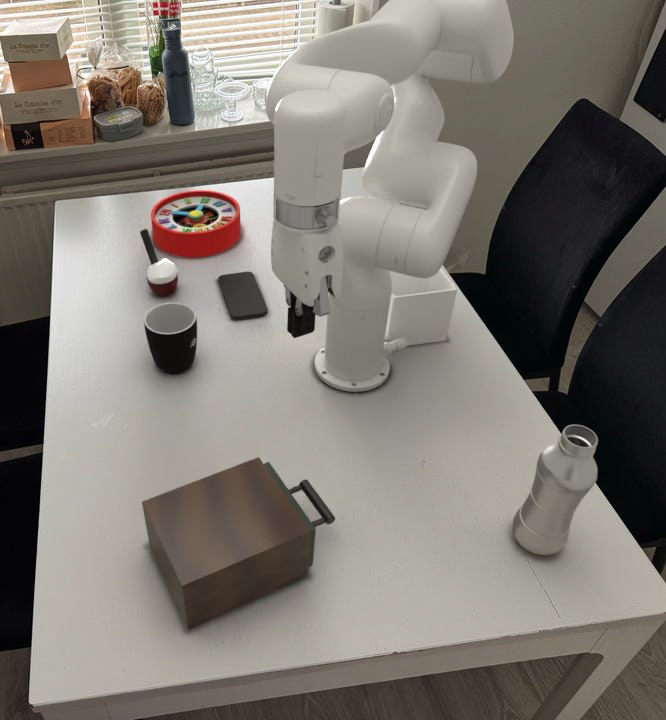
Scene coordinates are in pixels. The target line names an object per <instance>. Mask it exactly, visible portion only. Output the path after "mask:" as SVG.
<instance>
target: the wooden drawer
mask: <svg viewBox="0 0 666 720" xmlns="http://www.w3.org/2000/svg"><path fill="white" fill-rule="evenodd" d="M263 464H264V465H265V467H266V468H267V469H268V471H269V472H270V474H271V475H272V477H273V478H274V480H275V481H276V482H277V484H278V485H279V487H280V488H281V490H282V491H283V493H284V494H285V495H286V497H287V498H288V500H289V501H290V503H291V504H292V506H293V507H294V509H295V510H296V511H297V513H298V514H299V516H300V517H301V519H302V520H303V522H304V523H305V524H306V526H307V527H308V529H309V530H310V541H309V555H308V568H310V567H312V566H313V565H314V555H315V545H316V544H315V543H316V532H317V531H316V530H317V527H319V526H321V525H324V524H326V525H331V524H333V523H334V522H335V521H336V516H335V515H334V514H333V512H332V511H331V510H330V508H329V507H328V506H327V504H326V502H324V500H323V499H322V497H321V496H320V495H319V493H318V492H317V491H316V489H315V487H314V486H313V485H312V484H311V483H310V481H309V479H302V480H301V481H300V482H299V483H298V485H295V486H293V487H291V488H288V486H287V485H286V484H285V482H284V481H283V479H282V478H281V477H280V475H279V474H278V473H277V471H276V470H275V469H274V467H273V465H272V464H271V463H270V461H266V462H263ZM300 491H302V492H303V493H304V495H305V497H306V498H307V499H308V500H309V502H310V503H311V504H312V506H313V507H314V508H315V510H316V511H317V513H318V515H320V518H317V519H315V520H313V521H311V519H310V518H309V517H308V515H307V514H306V512H305V511H304V509H303V508H302V507H301V505H300V504H299V503H298V501H297V500H296V498H295V497H294V496H293V494H296V493H298V492H300Z"/></svg>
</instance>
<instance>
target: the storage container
mask: <svg viewBox="0 0 666 720" xmlns="http://www.w3.org/2000/svg"><path fill="white" fill-rule="evenodd" d="M389 273H390V277H391V282H392V292H391V298H390V305H389V312H388V319H387V326H386V332H385V334H389V335H390V341H388V342H387V343H390V342H392V341H394V340H397V339H399V338H403V339H404V340H405V342H406V347H408V346H416V345H422V344H430V343H437V342H444V341H447V337H448V334H449V330H450V324H451V319H452V317H453V312H454V307H455V301H456V298H457V293H458V288H457V287H456V286H455V284H454V283H453V282H452V280H451V279H450V278H449V276H448V275H447V274H446V272H445V271H444V269H443V268H442V267H441V268H440V270H439V271H438V272H437V273H436V274H435V275H434V276H432V277H429V278H417V277H412V276H408V275H404V274H400V273H396V272H392V271H389Z"/></svg>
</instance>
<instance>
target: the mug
mask: <svg viewBox="0 0 666 720" xmlns="http://www.w3.org/2000/svg"><path fill="white" fill-rule="evenodd" d="M197 318H198V317H197V313H196V311H195V310H194V309H193V308H192V307H191V306H189V305H187V304H184V303H180V302H164V303H160V304H158V305H155V306H153V307H152V308H150V309H149V310H148V311H147V312H146V313H145V314H144V318H143V327H144V331H145V338H146V341H147V344H148V348H149V352H150V355H151V358H152V360H153V362H154V364H155V366H156V367H157V368H158V369H159V370H160V371H161V372H163V373H165V374H169V375H179V374H182V373H185V372H186V371H188V370H190V368H191V367H192V366H193V364H194V362H195V358H196V354H197V345H198V319H197Z"/></svg>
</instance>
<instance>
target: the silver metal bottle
mask: <svg viewBox="0 0 666 720" xmlns="http://www.w3.org/2000/svg"><path fill="white" fill-rule="evenodd" d="M598 442H599V438H598V436H597V434H596V433H595V432H594V431H593V430H592V429H590V428H589V427H587V426H584V425H581V424H569V425H567V426H565V427H564V428H563V430H562V433H561V435H560V436H559V438H558V440H557V442H555V443H552V444H550V445H548V446H547V447H545V448H544V449H543V450H542V451H541V452H540V453H539V455H538V457H537V461H536V467H535V473H534V479H533V482H532V485H531V488H530V492H529V494H528V495H527V497H526V499H525V501H524V502H523V504H522V505H520V507H519V508H518V510H517V511H516V513H515V514H514V516H513V519H512V533H513V536H514V538H515V539H516V541H517V542H518V544H519V545H520V546H521V547H522V548H523V549H524V550H526V551H528V552H530V553H532V554H535V555H539V556H550V555H553V554H557V553H558V552H559V551H561V549H562V548H563V547H564V546H565V545H566V544H567V543H568V539H569V536H570V535H569V534H570V528H571V524H572V520H573V517H574V515H575V512H576V510H577V509H578V507H579V505H580V504H581V502H582V501H583V500H584V498H585V496H586V495H587V494H588V493H589V492H590V491H591V489H592V488H593V487H594V485H595V484H596V482H597V480H598V470H599V469H598V464H597V462H596V460H595V457H594V455H595V453H596V450H597V446H598V444H599V443H598Z"/></svg>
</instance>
